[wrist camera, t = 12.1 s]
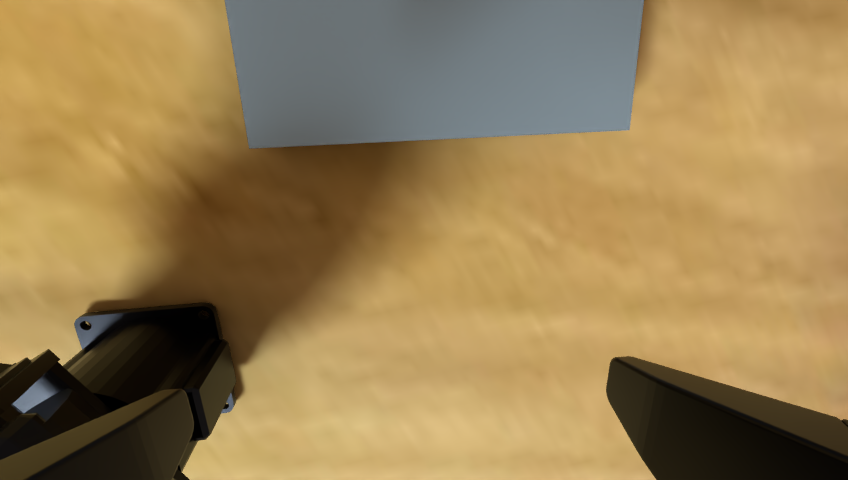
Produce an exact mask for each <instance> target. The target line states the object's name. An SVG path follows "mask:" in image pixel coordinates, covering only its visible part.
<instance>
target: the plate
mask: <svg viewBox="0 0 848 480" xmlns="http://www.w3.org/2000/svg"><path fill="white" fill-rule="evenodd" d="M643 4H644V0H225V5H226V11H227V17H228V23H229V30H230V36H231V42H232V48H233V54H234V60H235V66H236V72H237V78H238V84H239V90H240V96H241V102H242V108H243V114H244V120H245V126H246V132H247V138H248V144H249V149H250V148H271V147H292V146H312V145H333V144H353V143H374V142H395V141H415V140H436V139H456V138H477V137H498V136H518V135H539V134H559V133H580V132H601V131H621V130H629V129H630V120H631V112H632V103H633V94H634V85H635V76H636V67H637V58H638V49H639V40H640V31H641V22H642V13H643Z"/></svg>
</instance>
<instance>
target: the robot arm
mask: <svg viewBox="0 0 848 480" xmlns="http://www.w3.org/2000/svg"><path fill="white" fill-rule="evenodd" d="M202 310H203V311H207V312H208V314H209V316H205V315H203V314H202V312H201V311H202ZM85 321H88V322H89V323H90V324H91V325H92V326H89V325H87V324H86V322H85ZM74 325H75V329H76V332H77V335H78V338H79V341H80V344H81V347H82V350H81V351H80V352H79V353H78V354H77V355H75V356H74V357H73V358H72V359H71V360H69V361H68V362H67V363H66V364H65V365H63V366H62V365H61V364H60V363H58V361H59V360H60V359H59V358H58V357H57V356H56V355H55V354H54V353H53V352H52V351H50V350H49V349H48V350H46V351H45V352H43V353H41V354H40V355H38V356H37V357H35V358H33V359H32V360H29V359H28V358H25V359H23V360H21V361H20V362H18V363H14V364H13V365H10V364H2V363H0V480H189V479H188V478H187V477H186V476H185V475H184V474H183V473H182V471H183V469H184V467H185V465H186V463H187V461H188V459H189V457H190V455H191V453H192V451H193V449H194V448H195V446H196V444H197V442H198V441H199V440H206V439H207V438H208V436H209V435H210V434H211V433H212V430H213V428H214V426H215V424H216V422H217V420H218V418H219V416H220V414H221V413H227V412H230V411H231V410H232V409H233V407H234V405H235V403H236V397H235V393H234V386H235V384H236V377H235V372H234V367H233V363H232V358H231V353H230V349H229V344H228V342H227V341H225V340H224V339H223V337H222V332H221V328H220V323H219V318H218V314H217V310H216V308H215V306H214V305H212V304H210V303H194V304H182V305H171V306H159V307H148V308H136V309H125V310H114V311H102V312H91V313H85V314H83V315H82V316H80V317H79V318H78V319H76V321H75V323H74ZM606 392H607V397H608V400H609V402H610V404H611V406H612V408H613V410H614V411H615V413H616V415H617V417H618V418H619V420H620V422H621V424H622V425H623V427H624V429H625V431H626V432H627V434H628V436H629V438H630V439H631V441H632V443H633V445H634V446H635V448H636V450H637V451H638V453H639V455H640V456H641V458H642V460H643V461H644V462H645V464H646V465H647V467H648V468H649V470H650V471H651V473H652V474H653V475H654V477H655V478H656V480H848V420H846V419H843V420H840V419H838V418H837V417H833V416H830V415H827V414H823V413H820V412H817V411H813V410H810V409H806V408H803V407H800V406H796V405H793V404H790V403H786V402H783V401H780V400H776V399H773V398H769V397H766V396H763V395H759V394H756V393H753V392H749V391H746V390H742V389H739V388H736V387H732V386H729V385H726V384H722V383H719V382H716V381H712V380H709V379H705V378H702V377H699V376H695V375H692V374H689V373H685V372H682V371H678V370H675V369H672V368H668V367H665V366H662V365H658V364H655V363H652V362H648V361H645V360H641V359H638V358H635V357H629V356H626V357H615V358H613V359H612V360H611V362H610V367H609V373H608V380H607V387H606ZM226 402H227V403H228V404H226Z"/></svg>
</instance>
